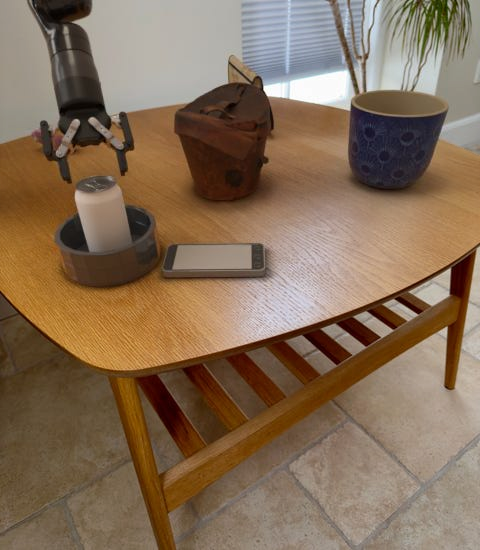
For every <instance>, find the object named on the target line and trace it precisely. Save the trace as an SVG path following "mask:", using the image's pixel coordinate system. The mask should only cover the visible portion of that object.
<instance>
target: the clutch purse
mask: <svg viewBox="0 0 480 550" xmlns="http://www.w3.org/2000/svg"><path fill="white" fill-rule="evenodd" d="M227 78H228V79H227V80H228V81H227V82H228V83H227V84H229V83H236V82H242V83H248V84H251V85H253V86H255V87H257V88H259V89H260V90H261V91H263V92H264V94H265V95H266V96H267V98H268V100H269V99H270V98H269V97H268V94H267V93H266V91H265V90H264V82H263V79H262V77H261V76H260V75H259V74H257V73H256V72H254V70H252V69H251V68H250V67H249V66H247V65H246V64H245V63H243V62H242V61H241V60H240V59H239V58H237V57H236V56H235V55H233V54H231V55H229V57H228V60H227ZM269 103H270V121H271V131H273V130H275V129H274V128H275V121H274V119H275V118H274V113H273V109H272V105H271V102H270V100H269Z"/></svg>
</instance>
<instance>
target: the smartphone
mask: <svg viewBox="0 0 480 550" xmlns="http://www.w3.org/2000/svg"><path fill="white" fill-rule="evenodd" d="M161 271H162V277H164V278H227V277H228V278H235V277H236V278H245V277H246V278H247V277H249V278H251V277H253V278H255V277H257V278H258V277H263V276H265V275H266V255H265V244H264V243H263V242H220V243H219V242H206V243H205V242H203V243H202V242H201V243H200V242H199V243H196V242H194V243H192V242H191V243H171V244H168V245H167V248H166V252H165V256H164V260H163V262H162V266H161Z"/></svg>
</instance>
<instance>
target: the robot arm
mask: <svg viewBox="0 0 480 550" xmlns="http://www.w3.org/2000/svg"><path fill="white" fill-rule="evenodd" d="M26 4H27V7H28V9H29V11H30V12H31V14H32V16H33V18H34V20H35V21H36V24H37V25H38V27H39V29H40V31H41V33H42V36H43V38H44V40H45V43H46V47H47V53H48V57H49V62H50V63H49V64H50V75H51V80H52V85H53V92H54V96H55V100H56V101H55V102H56V106H57V111H58V116H59V118H58V122H48V121H47V120H45V119H42V120H41V121H39V127H40V129H41V137H42V144H41V145H42V152H43V154H44V156H45V158H46V160H47V161H48V162H56V163H57V164H58V170H59V175H60V177H61V179H62V180H63V182H66V183H67V185H69V184H70V185H71V184H73V179H72V173H71V169H70V164H69V158H70V156H71V155H72V154H73V153H74V152H75V151H76V150H75V148H76V149H77V147H80V148H86V147H89V146H93V147H96V146H100V144H102V143H103V144H104V145H105V146H106V147H108V148H109V149H111V150H112V151H114V153H115V154H116V159H117V163H118V164H117V165H118V168H119V174H120V177H126V173H128V172H129V165H128V161H127V156H126V153H128V152H132V151H135V140H134V136H133V133H132V129H131V126H130V123H129V118H128V115H127V113H126V111H119V113H118V114H117V115H112V116H110V115H109V114H108V112H107V108H106V104H105V98H104V95H103V90H102V82H101V81H100V75H99V72H98V69H97V66H96V63H95V60H94V55H93V50H92V46H91V41H90V38H89V35H88V32H87V31H86V30H85V28H84V27H82V25H79V24H78V23H75V22H77V21H80V20H83V19H86V18H88V17H90V15H91V14H92V12H93V7H94V6H93V4H94V2H93V0H26ZM113 125H114V126H116V128H117V129H118V130H121V131H122V135H123V138H124V141H120V140H119V139H118V138H117V137H116V136H115V135H114V134H113V132H111V131H110V130H111V128H112V127H113ZM59 131H60V133H61V134H63V135H64V136H63V137H64V138H63V139H62V142H61V145H60V147H59V148H58V150H57V151H54V149H53V141H52V138H54V137H55V136H56V133H58V132H59ZM74 150H75V151H74Z"/></svg>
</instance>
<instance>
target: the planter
mask: <svg viewBox="0 0 480 550" xmlns="http://www.w3.org/2000/svg"><path fill="white" fill-rule="evenodd" d="M349 107H350V108H349V125H348V127H349V128H348V143H347V144H348V145H347V157H348V159H347V160H348V164H349V168H350V170H351V172H352V174H353V175H354V176H355V178H356V179H358V181H360V182H361V183H364V184H365V185H367V186H369V187H372V188H373V187H374V188H377V189H385V190H397V189H402V188H405V187H409V186H411V185H412V184H414V183H416V182H417V181H418V180H420V179H421V178H422V177H423V176H424V175H425V173H426V171H427V170H428V168H429V166H430V164H431V162H432V159H433V157H434V154H435V150H436V148H437V144H438V142H439V139H440V135H441V132H442V129H443V127H444V123H445V121H446V117H447V115H448V112H449V108H450V105H449V103H448V101H446V100H445V99H443V98H442V97H440V96H437V95H434V94H430V93H427V92H420V91H414V90H405V89H378V90H369V91H364V92H360V93H358V94H356V95H354V96H353V97H352V98H351V100H350V106H349Z"/></svg>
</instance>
